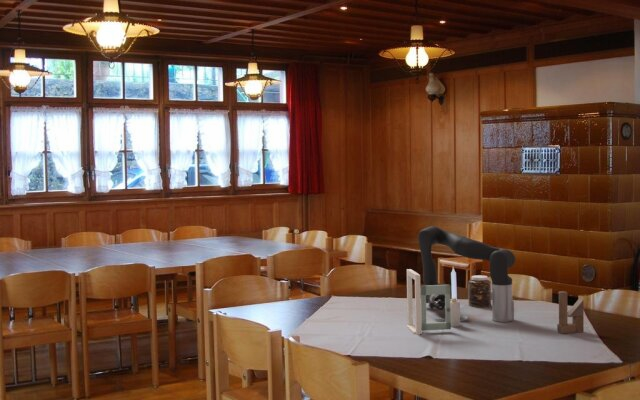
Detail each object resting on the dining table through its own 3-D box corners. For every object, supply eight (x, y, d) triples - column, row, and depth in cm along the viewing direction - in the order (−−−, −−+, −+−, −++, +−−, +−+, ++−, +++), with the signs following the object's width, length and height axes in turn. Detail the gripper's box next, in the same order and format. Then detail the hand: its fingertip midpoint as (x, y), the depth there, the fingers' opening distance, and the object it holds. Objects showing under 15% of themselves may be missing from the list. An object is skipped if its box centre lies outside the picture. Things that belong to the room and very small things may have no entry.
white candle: (458, 324, 363) (457, 296, 362) (461, 326, 358) (461, 298, 357) (447, 324, 362) (446, 297, 361) (450, 327, 357) (450, 299, 356)
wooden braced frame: (583, 332, 340) (583, 291, 339) (561, 334, 338) (561, 292, 337) (579, 330, 344) (579, 289, 343) (557, 332, 342) (556, 291, 341)
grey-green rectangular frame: (422, 331, 344) (422, 286, 343) (421, 330, 347) (420, 285, 346) (451, 329, 346) (450, 285, 345) (449, 328, 349) (449, 284, 347)
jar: (494, 304, 407) (494, 275, 406) (486, 308, 397) (486, 278, 396) (473, 302, 413) (472, 274, 413) (464, 306, 404) (464, 277, 403)
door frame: (414, 325, 362) (412, 268, 360) (423, 334, 344) (422, 274, 342) (405, 326, 361) (404, 269, 360) (414, 334, 344) (413, 275, 342)
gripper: (424, 293, 385) (432, 299, 369) (452, 292, 387) (462, 298, 371) (424, 308, 386) (433, 315, 370) (452, 307, 387) (462, 314, 371)
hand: (447, 307), depth 370 cm, fingers open, 8 cm apart
